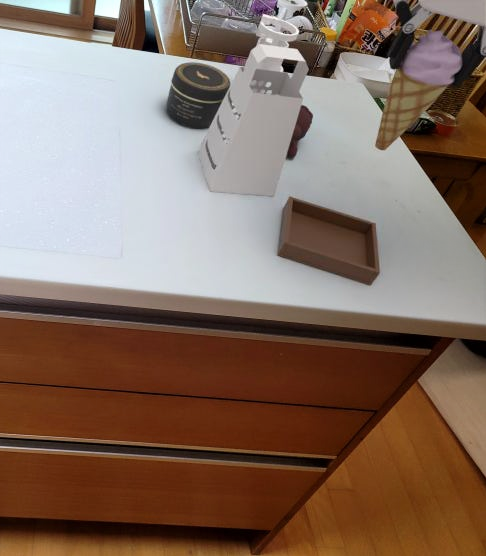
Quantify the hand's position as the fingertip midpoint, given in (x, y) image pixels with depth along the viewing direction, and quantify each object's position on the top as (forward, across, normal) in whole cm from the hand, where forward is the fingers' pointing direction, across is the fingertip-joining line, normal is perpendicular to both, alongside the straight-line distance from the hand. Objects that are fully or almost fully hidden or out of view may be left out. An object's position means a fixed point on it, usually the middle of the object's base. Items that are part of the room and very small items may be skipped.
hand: (423, 72), depth 64 cm
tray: (+25, 0, +4) cm, 25 cm away
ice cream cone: (+10, 0, 0) cm, 10 cm away
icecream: (+25, +9, -23) cm, 36 cm away
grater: (+25, +16, -7) cm, 31 cm away
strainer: (+25, +16, -35) cm, 46 cm away
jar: (+25, +26, -21) cm, 42 cm away
